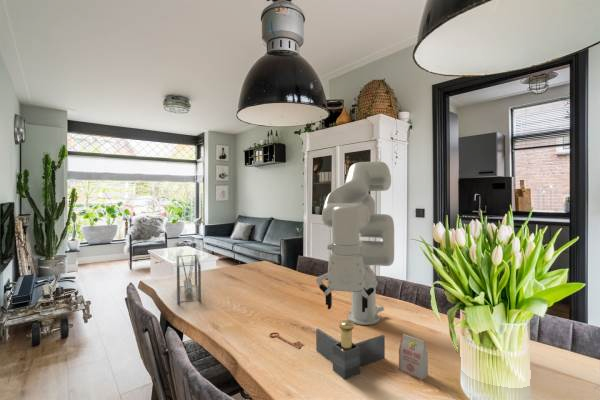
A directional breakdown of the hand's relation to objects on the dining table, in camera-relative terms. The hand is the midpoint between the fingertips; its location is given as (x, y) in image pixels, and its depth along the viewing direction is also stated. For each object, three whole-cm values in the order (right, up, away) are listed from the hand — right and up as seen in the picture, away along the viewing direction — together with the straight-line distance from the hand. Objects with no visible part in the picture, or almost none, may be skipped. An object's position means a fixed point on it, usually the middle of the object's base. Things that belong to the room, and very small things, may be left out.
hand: (346, 308), depth 90 cm
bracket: (+2, -18, +8) cm, 19 cm away
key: (-18, -18, +20) cm, 32 cm away
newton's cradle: (-70, -17, +71) cm, 102 cm away
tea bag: (+19, -18, -1) cm, 26 cm away
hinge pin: (0, -18, 0) cm, 18 cm away
